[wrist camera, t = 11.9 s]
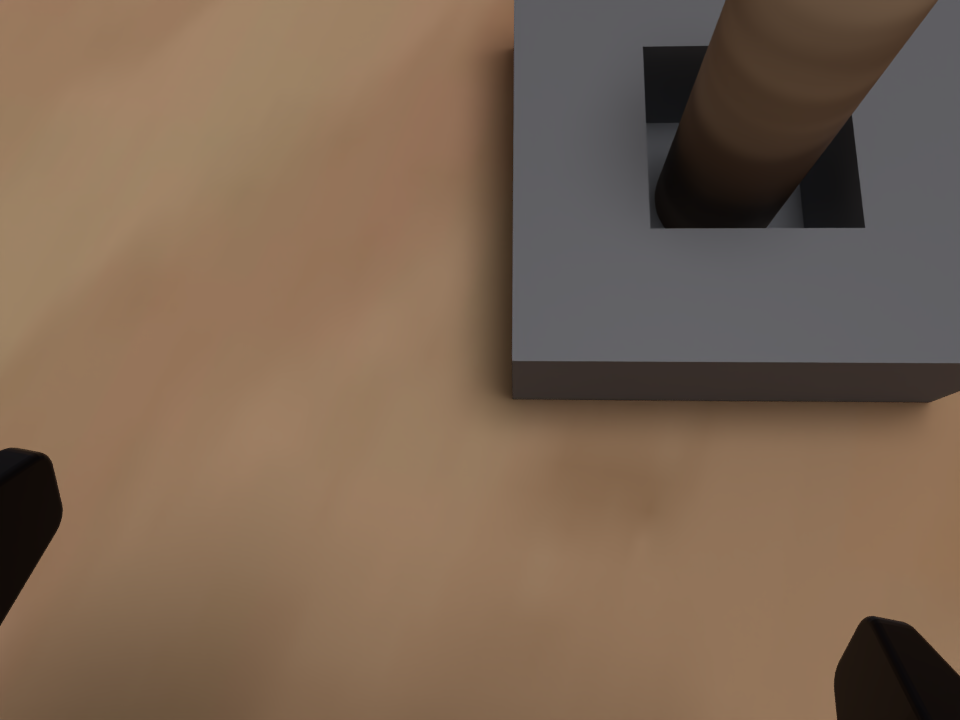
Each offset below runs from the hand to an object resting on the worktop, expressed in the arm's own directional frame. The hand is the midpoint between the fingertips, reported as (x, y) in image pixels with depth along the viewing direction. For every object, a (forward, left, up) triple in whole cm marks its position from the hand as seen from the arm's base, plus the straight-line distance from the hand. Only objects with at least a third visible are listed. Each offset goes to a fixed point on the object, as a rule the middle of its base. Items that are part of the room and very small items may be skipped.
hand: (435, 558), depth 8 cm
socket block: (+11, -7, -14) cm, 19 cm away
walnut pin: (+11, -7, -13) cm, 18 cm away
